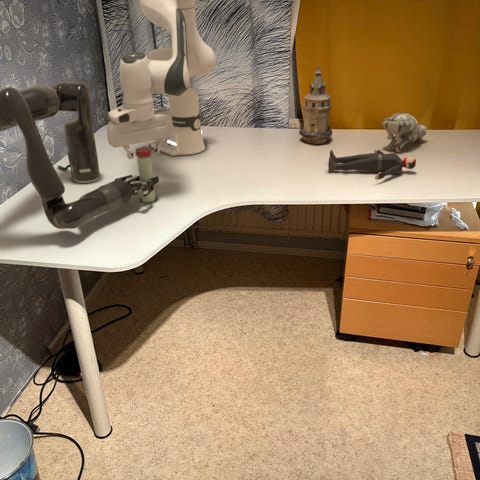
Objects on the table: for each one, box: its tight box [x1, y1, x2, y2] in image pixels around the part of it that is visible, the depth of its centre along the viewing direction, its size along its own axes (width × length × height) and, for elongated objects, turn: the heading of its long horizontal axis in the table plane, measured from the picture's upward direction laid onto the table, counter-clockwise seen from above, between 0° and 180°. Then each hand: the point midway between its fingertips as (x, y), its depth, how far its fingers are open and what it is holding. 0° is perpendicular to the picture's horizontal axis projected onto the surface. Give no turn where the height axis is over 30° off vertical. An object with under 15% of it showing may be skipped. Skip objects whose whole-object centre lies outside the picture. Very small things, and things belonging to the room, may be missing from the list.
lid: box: [135, 146, 153, 157], centre depth 165 cm, size 5×5×2 cm
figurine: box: [381, 112, 428, 153], centre depth 209 cm, size 10×19×20 cm
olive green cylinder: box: [136, 154, 156, 203], centre depth 169 cm, size 4×4×16 cm
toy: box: [327, 149, 417, 181], centre depth 190 cm, size 26×6×30 cm
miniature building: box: [298, 65, 333, 145], centre depth 213 cm, size 13×14×30 cm
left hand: (152, 177), depth 171 cm, fingers closed on olive green cylinder, 4 cm apart
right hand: (143, 155), depth 165 cm, fingers open, 7 cm apart
